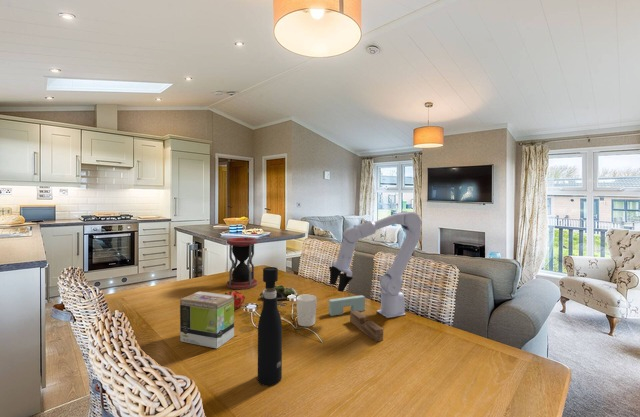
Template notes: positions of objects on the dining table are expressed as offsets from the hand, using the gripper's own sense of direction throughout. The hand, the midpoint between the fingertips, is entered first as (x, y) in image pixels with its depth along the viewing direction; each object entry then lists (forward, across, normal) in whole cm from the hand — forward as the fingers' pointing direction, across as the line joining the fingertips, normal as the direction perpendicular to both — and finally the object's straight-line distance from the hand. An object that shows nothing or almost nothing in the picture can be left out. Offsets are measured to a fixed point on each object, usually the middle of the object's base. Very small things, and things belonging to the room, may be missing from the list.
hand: (336, 287), depth 127 cm
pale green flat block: (+10, 0, +9) cm, 13 cm away
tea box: (+24, +4, -46) cm, 52 cm away
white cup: (+15, +4, -11) cm, 18 cm away
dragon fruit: (+23, -22, -34) cm, 46 cm away
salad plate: (+18, -31, -11) cm, 38 cm away
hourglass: (+23, -55, -24) cm, 64 cm away
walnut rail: (+9, +18, +6) cm, 21 cm away
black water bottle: (+18, +34, -32) cm, 50 cm away
